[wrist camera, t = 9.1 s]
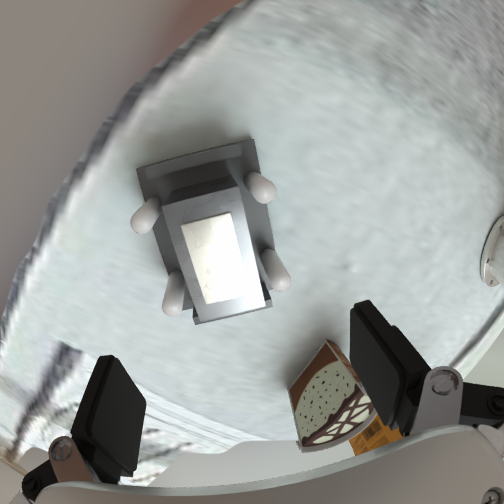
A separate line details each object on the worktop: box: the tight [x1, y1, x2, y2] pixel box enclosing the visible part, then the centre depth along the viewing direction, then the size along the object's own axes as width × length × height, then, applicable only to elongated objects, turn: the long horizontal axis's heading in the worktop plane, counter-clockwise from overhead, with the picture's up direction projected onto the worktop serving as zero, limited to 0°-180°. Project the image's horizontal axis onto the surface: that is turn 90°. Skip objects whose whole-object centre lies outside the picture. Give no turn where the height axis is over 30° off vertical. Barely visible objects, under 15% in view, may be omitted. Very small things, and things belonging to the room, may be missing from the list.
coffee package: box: [349, 414, 404, 456], centre depth 32 cm, size 10×12×22 cm
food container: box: [287, 340, 377, 453], centre depth 30 cm, size 12×6×10 cm, turn 154°
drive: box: [161, 175, 265, 322], centre depth 22 cm, size 5×9×6 cm, turn 12°
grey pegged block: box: [130, 139, 291, 325], centre depth 22 cm, size 10×14×6 cm
